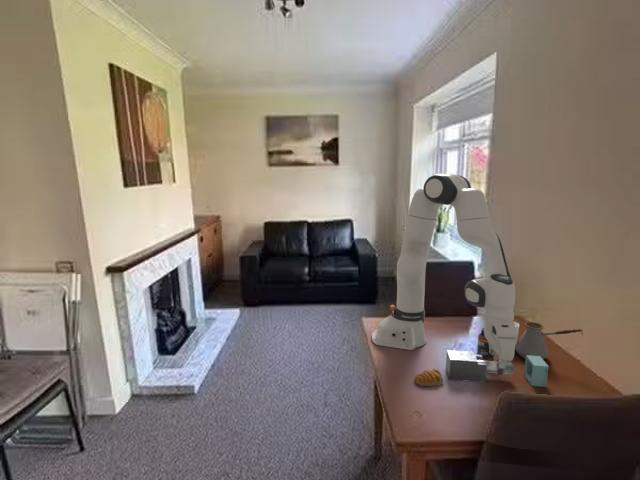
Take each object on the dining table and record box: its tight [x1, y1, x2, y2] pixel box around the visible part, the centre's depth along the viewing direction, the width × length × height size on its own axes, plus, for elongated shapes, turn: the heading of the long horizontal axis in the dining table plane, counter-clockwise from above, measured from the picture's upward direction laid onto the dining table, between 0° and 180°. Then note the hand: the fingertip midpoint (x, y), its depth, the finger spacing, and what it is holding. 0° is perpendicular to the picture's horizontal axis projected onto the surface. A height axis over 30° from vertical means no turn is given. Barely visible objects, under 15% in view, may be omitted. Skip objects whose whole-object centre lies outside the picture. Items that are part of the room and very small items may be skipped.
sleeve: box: [445, 349, 488, 383], centre depth 138 cm, size 12×7×7 cm, turn 82°
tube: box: [478, 358, 514, 376], centre depth 137 cm, size 19×5×5 cm, turn 82°
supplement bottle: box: [476, 327, 495, 361], centre depth 151 cm, size 6×6×11 cm
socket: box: [523, 355, 550, 388], centre depth 135 cm, size 4×7×7 cm, turn 172°
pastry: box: [414, 368, 444, 387], centre depth 134 cm, size 9×7×4 cm
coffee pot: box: [515, 321, 584, 360], centre depth 148 cm, size 21×12×15 cm, turn 53°
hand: (496, 360), depth 136 cm, fingers open, 8 cm apart
